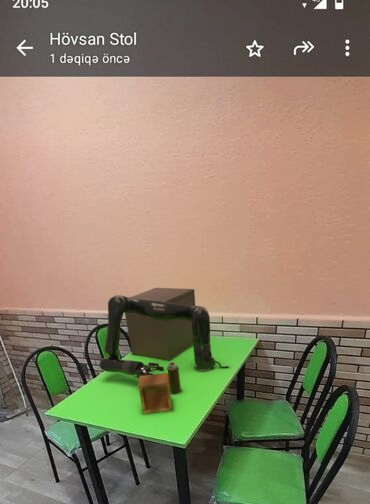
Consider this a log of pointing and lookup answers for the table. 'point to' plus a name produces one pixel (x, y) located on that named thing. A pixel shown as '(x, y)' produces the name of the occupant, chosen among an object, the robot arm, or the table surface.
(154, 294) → the storage cube
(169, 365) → the pepper mill
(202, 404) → the table surface
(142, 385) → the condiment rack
